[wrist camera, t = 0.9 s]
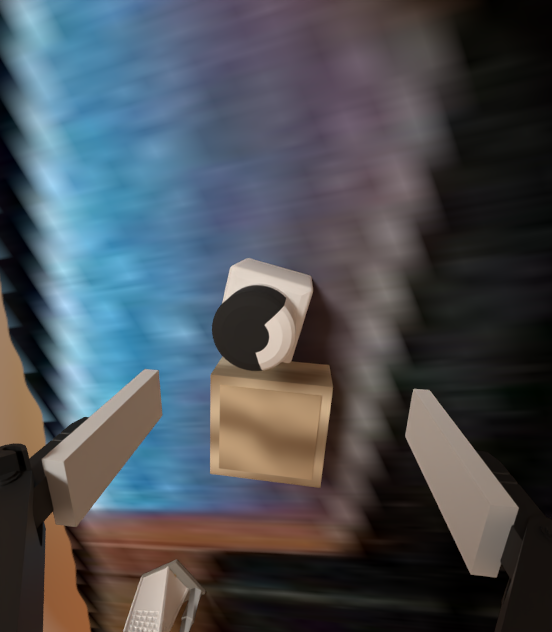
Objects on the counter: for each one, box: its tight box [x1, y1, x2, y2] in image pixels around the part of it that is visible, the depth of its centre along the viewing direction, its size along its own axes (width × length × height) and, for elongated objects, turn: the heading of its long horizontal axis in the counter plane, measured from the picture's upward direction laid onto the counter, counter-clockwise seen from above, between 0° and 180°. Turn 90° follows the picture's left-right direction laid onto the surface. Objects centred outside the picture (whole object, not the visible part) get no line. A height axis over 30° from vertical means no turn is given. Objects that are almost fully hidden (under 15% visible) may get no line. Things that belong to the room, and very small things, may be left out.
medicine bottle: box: [212, 258, 313, 371], centre depth 27 cm, size 7×7×12 cm
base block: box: [210, 357, 333, 488], centre depth 34 cm, size 12×12×5 cm
